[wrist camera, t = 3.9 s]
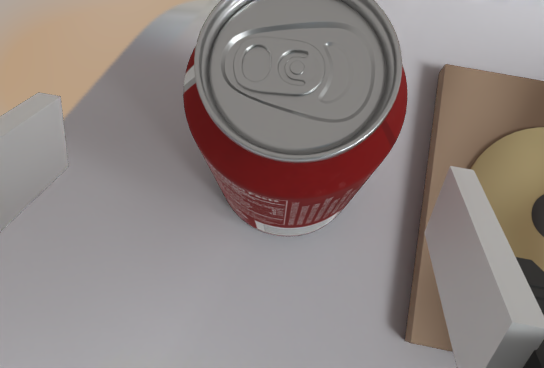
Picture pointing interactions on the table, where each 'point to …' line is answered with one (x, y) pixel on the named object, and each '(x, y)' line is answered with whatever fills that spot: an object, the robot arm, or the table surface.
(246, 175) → the soda can
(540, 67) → the table surface
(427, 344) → the hole plate
